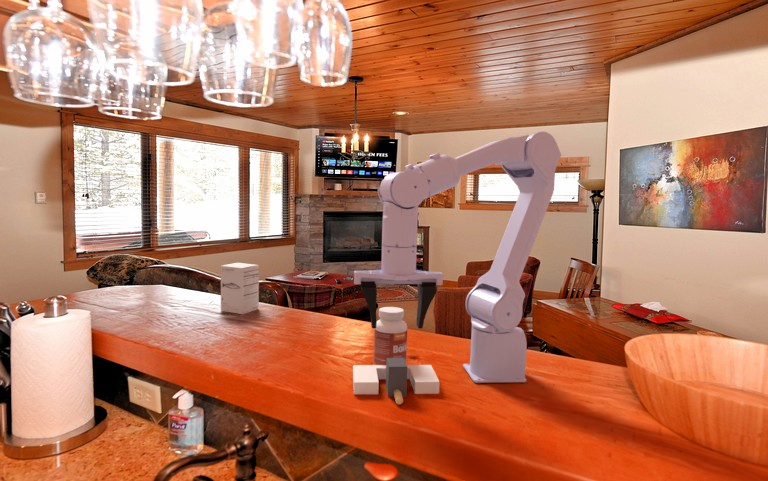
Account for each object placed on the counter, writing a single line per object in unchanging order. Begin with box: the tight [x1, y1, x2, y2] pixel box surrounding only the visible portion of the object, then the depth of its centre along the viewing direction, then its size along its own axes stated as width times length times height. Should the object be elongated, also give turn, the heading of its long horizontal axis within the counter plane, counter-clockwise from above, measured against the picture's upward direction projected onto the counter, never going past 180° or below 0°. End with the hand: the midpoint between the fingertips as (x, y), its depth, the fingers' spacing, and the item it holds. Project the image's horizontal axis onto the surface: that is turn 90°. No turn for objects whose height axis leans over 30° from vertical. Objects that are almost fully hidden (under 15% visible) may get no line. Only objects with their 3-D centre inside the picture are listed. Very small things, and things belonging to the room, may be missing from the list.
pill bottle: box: [373, 306, 408, 365], centre depth 85 cm, size 6×6×11 cm
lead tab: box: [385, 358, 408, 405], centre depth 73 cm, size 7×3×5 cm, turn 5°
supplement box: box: [220, 262, 260, 315], centre depth 123 cm, size 7×7×13 cm
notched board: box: [352, 364, 441, 395], centre depth 77 cm, size 14×8×2 cm, turn 95°
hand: (396, 326), depth 75 cm, fingers open, 7 cm apart
